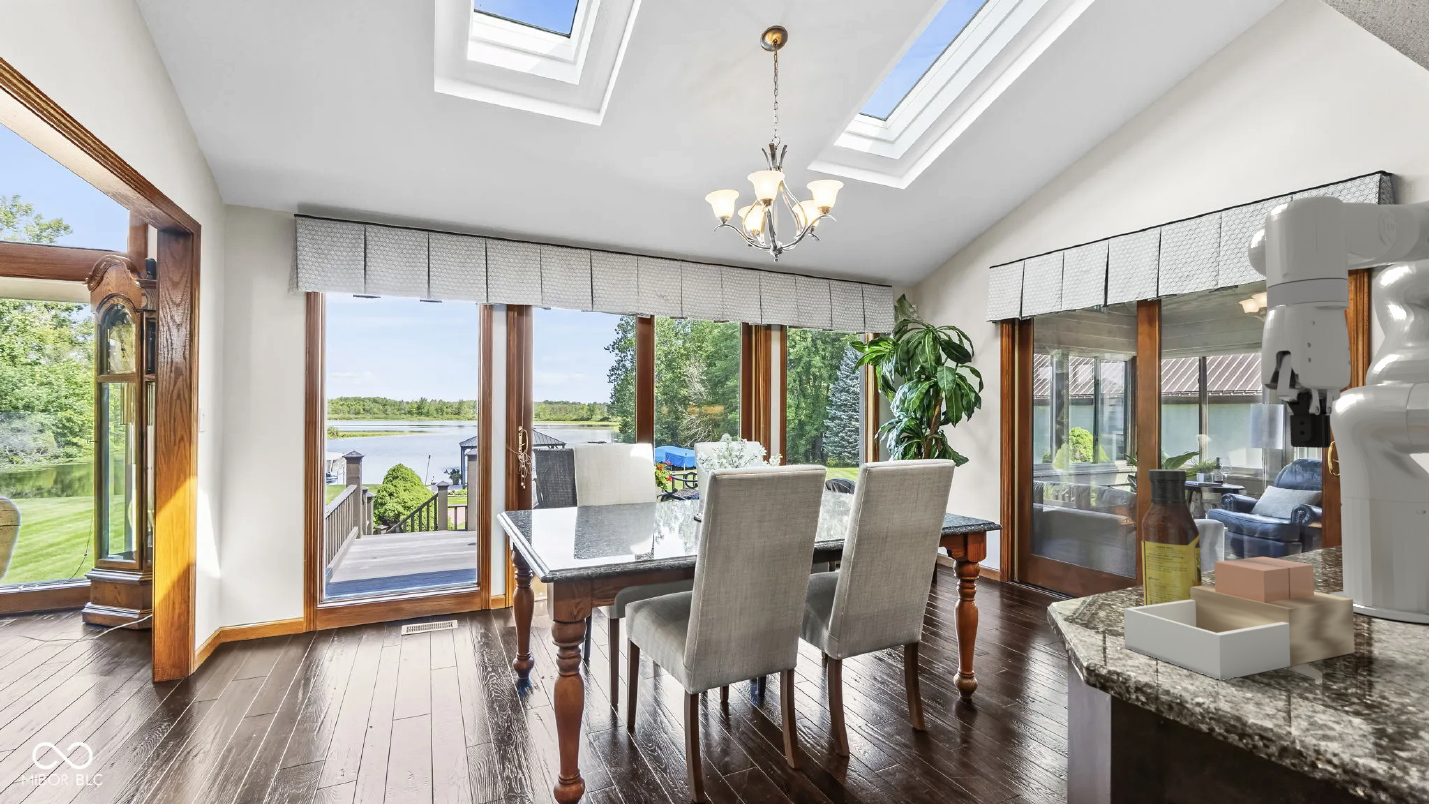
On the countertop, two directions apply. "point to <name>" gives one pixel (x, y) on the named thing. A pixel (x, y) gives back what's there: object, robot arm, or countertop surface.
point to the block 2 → (1293, 575)
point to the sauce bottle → (1169, 541)
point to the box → (1204, 641)
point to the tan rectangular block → (1283, 620)
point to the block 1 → (1252, 580)
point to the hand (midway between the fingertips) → (1310, 446)
